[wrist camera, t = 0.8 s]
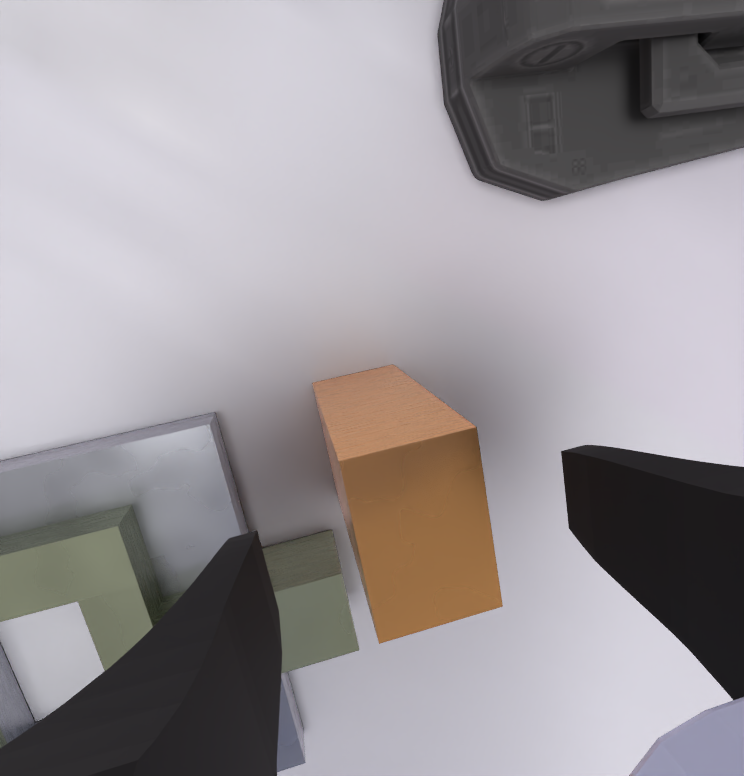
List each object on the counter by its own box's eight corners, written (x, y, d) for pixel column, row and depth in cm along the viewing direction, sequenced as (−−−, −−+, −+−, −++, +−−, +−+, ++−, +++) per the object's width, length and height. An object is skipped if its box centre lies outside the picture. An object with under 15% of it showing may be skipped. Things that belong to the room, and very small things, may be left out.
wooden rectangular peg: (413, 476, 20) (502, 606, 12) (337, 496, 19) (379, 643, 11) (393, 364, 18) (476, 427, 11) (312, 382, 18) (338, 461, 10)
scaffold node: (373, 707, 21) (394, 801, 18) (-61, 845, 19) (-146, 988, 15) (300, 392, 18) (306, 424, 14) (-239, 515, 16) (-405, 592, 12)
